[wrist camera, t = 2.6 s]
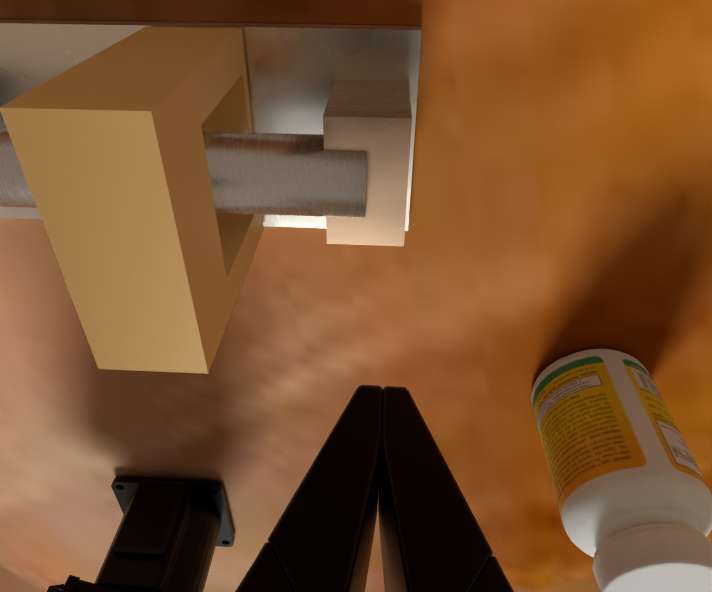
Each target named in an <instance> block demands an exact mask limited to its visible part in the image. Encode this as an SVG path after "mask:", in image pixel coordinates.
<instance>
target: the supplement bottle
mask: <svg viewBox="0 0 712 592" xmlns="http://www.w3.org/2000/svg"><path fill="white" fill-rule="evenodd" d="M531 400H532V405H533V409H534V414H535V418H536V422H537V426H538V430H539V434H540V438H541V441H542V445H543V449H544V453H545V457H546V461H547V465H548V468H549V472H550V476H551V480H552V484H553V488H554V492H555V496H556V499H557V503H558V507H559V511H560V515H561V519H562V523H563V526H564V528H565V531H566V533H567V534H568V536H569V538H570V539H571V541H572V542H573V543H574V544H575V545H576V546H577V547H578V548H579V549H581V550H582V551H583V552H585V553H586V554H588V555H590V556H592V557H594V561H593V572H594V574H595V577H596V580H597V583H598V586H599V589H600V592H712V543H711V542H710V541H709V540H708V538H707V536H708V534H709V533H710V531H711V529H712V495H711V493H710V491H709V489H708V487H707V485H706V483H705V481H704V479H703V477H702V475H701V473H700V471H699V469H698V467H697V465H696V463H695V461H694V459H693V457H692V455H691V453H690V451H689V449H688V447H687V445H686V443H685V442H684V440H683V438H682V436H681V434H680V432H679V430H678V428H677V426H676V424H675V422H674V420H673V418H672V416H671V414H670V412H669V410H668V409H667V407H666V405H665V402H664V401H663V399H662V397H661V395H660V393H659V391H658V389H657V387H656V385H655V383H654V381H653V380H652V378H651V376H650V374H649V372H648V371H647V369H646V368H645V367H644V366H643V365H642V363H640V362H639V361H638V360H637V359H636V358H634V357H632V356H630V355H628V354H626V353H623V352H620V351H617V350H611V349H589V350H583V351H579V352H576V353H573V354H571V355H568V356H565V357H563V358H560V359H558V360H557V361H555V362H553V363H552V364H550V365H549V366H548V367H546V368H545V369H544V370H543V372H542V373H541V374H540V375H539V376H538V378H537V380H536V382H535V384H534V386H533V389H532V394H531Z"/></svg>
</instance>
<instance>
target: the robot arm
mask: <svg viewBox="0 0 712 592" xmlns="http://www.w3.org/2000/svg"><path fill="white" fill-rule="evenodd" d="M111 486H112V489H113V491H114V493H115V496H116V498H117V500H118V502H119V505H120V507H121V509H122V512H123V514H124V516H123V518H122V521H121V523H120V525H119V528H118V530H117V532H116V535H115V537H114V539H113V542H112V544H111V546H110V549H109V551H108V553H107V556H106V558H105V560H104V563H103V565H102V567H101V569H100V572H99V574H98V576H97V579H96V581H95V583H90V582H86V581H83V580H79V579H80V578H79V577H76V576H72V575H69V577H68V579H67V581H66V583H65V585H64V584H61V585H55V586H49V588H48V590H47V592H203V590H204V587H205V583H206V579H207V576H208V572H209V568H210V565H211V561H212V557H213V554H214V550H215V546H223V547H230V546H232V545H233V543H234V539H235V536H234V531H233V527H232V523H231V519H230V514H229V510H228V506H227V502H226V497H225V493H224V489H223V486H222V484H221V483H219V482H217V481H205V480H186V479H166V478H146V477H127V476H117V477H115V479H114V480H113V483H112V485H111ZM378 490H379V495H378ZM377 506H378V512H379V528H380V539H381V551H382V562H383V573H384V585H385V592H514V591H513V589H512V587H511V585H510V583H509V582H508V580H507V578H506V576H505V574H504V572H503V570H502V568H501V566H500V565H499V563H498V561H497V559H496V557H494V556H492V555H493V552H492V550H491V548H490V546H489V544H488V542H487V540H486V538H485V536H484V534H483V532H482V531H481V529H480V527H479V525H478V523H477V521H476V519H475V517H474V515H473V513H472V511H471V510H470V508H469V506H468V504H467V502H466V500H465V498H464V496H463V494H462V492H461V490H460V488H459V487H458V485H457V483H456V481H455V479H454V477H453V475H452V473H451V471H450V469H449V467H448V465H447V464H446V462H445V460H444V458H443V456H442V454H441V452H440V450H439V448H438V446H437V444H436V443H435V441H434V439H433V437H432V435H431V433H430V431H429V429H428V427H427V425H426V423H425V421H424V420H423V418H422V416H421V414H420V412H419V410H418V408H417V406H416V404H415V402H414V400H413V398H412V397H411V395H410V393H409V391H408V390H407V388H405V387H394V386H386V387H384V388H383V390H382V387H380V386H374V385H360V386H359V387H358V388H357V389H356V391H355V393H354V395H353V396H352V398H351V400H350V401H349V403H348V405H347V406H346V408H345V410H344V411H343V413H342V415H341V416H340V418H339V420H338V422H337V423H336V425H335V427H334V428H333V430H332V432H331V433H330V435H329V437H328V438H327V440H326V442H325V443H324V445H323V447H322V449H321V450H320V452H319V454H318V455H317V457H316V459H315V460H314V462H313V464H312V465H311V467H310V469H309V470H308V472H307V474H306V476H305V477H304V479H303V481H302V482H301V484H300V486H299V487H298V489H297V491H296V492H295V494H294V496H293V497H292V499H291V501H290V502H289V504H288V506H287V508H286V509H285V511H284V513H283V514H282V516H281V518H280V519H279V521H278V523H277V524H276V526H275V528H274V529H273V531H272V533H271V535H270V536H269V538H268V542H267V543H265V544H264V546H263V548H262V549H261V551H260V553H259V554H258V556H257V558H256V559H255V561H254V563H253V564H252V566H251V568H250V569H249V571H248V572H247V574H246V575H245V577H244V579H243V580H242V582H241V583H240V585H239V586H238V588H237V590H236V591H235V592H365V587H366V581H367V574H368V568H369V562H370V555H371V549H372V543H373V537H374V530H375V524H376V516H377Z"/></svg>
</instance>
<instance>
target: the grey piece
mask: <svg viewBox="0 0 712 592" xmlns="http://www.w3.org/2000/svg"><path fill="white" fill-rule="evenodd" d="M144 27H186V28H242V36H243V45H244V54H245V63H246V73H247V82H248V91H249V100H250V109H251V118H252V127H253V133H240V132H202V133H203V139H204V145H205V151H206V157H207V163H208V169H209V175H210V181H211V187H212V193H213V199H214V205H215V211H216V213H229V214H262V218H263V226H269V227H301V228H326V229H327V244H352V245H383V246H404V233H405V231H408V223H409V208H410V194H411V180H412V165H413V151H414V137H415V122H416V108H417V93H418V79H419V65H420V50H421V36H422V28H421V26H390V25H326V24H262V23H198V22H134V21H70V20H6V19H0V107H1V106H3V105H5V104H7V103H8V102H10V101H12V100H14V99H16V98H18V97H19V96H21V95H23V94H25V93H27V92H28V91H30V90H32V89H34V88H36V87H37V86H39V85H41V84H43V83H45V82H46V81H48V80H50V79H52V78H54V77H55V76H57V75H59V74H61V73H63V72H65V71H66V70H68V69H70V68H72V67H74V66H75V65H77V64H79V63H81V62H83V61H84V60H86V59H88V58H90V57H92V56H93V55H95V54H97V53H99V52H101V51H102V50H104V49H106V48H108V47H110V46H112V45H113V44H115V43H117V42H119V41H121V40H122V39H124V38H126V37H128V36H130V35H131V34H133V33H135V32H137V31H139V30H140V29H142V28H144ZM0 218H13V219H41V217H40V214H39V211H38V209H37V206H36V204H35V201H34V198H33V196H32V193H31V190H30V188H29V185H28V183H27V180H26V177H25V175H24V172H23V169H22V167H21V164H20V162H19V159H18V156H17V154H16V151H15V148H14V146H13V143H12V141H11V138H10V135H9V133H8V130H7V128H6V125H5V122H4V120H3V117H2V114H1V112H0Z"/></svg>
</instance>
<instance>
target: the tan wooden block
mask: <svg viewBox="0 0 712 592" xmlns="http://www.w3.org/2000/svg"><path fill="white" fill-rule="evenodd" d="M0 112H1V114H2V117H3V120H4V122H5V125H6V128H7V130H8V133H9V135H10V138H11V141H12V143H13V146H14V148H15V151H16V154H17V156H18V159H19V162H20V164H21V167H22V169H23V172H24V175H25V177H26V180H27V183H28V185H29V188H30V190H31V193H32V196H33V198H34V201H35V204H36V206H37V209H38V211H39V214H40V217H41V219H42V222H43V225H44V227H45V230H46V232H47V235H48V238H49V240H50V243H51V246H52V248H53V251H54V253H55V256H56V259H57V261H58V264H59V267H60V269H61V272H62V274H63V277H64V280H65V282H66V285H67V288H68V290H69V293H70V295H71V298H72V301H73V303H74V306H75V308H76V311H77V314H78V316H79V319H80V322H81V324H82V327H83V329H84V332H85V335H86V337H87V340H88V343H89V345H90V348H91V350H92V353H93V356H94V358H95V361H96V364H97V366H98V369H110V370H133V371H157V372H180V373H204V374H208V373H209V370H210V368H211V365H212V363H213V360H214V357H215V355H216V352H217V350H218V347H219V344H220V342H221V339H222V337H223V334H224V331H225V329H226V326H227V323H228V321H229V318H230V316H231V313H232V310H233V308H234V305H235V303H236V300H237V297H238V295H239V292H240V289H241V287H242V284H243V282H244V279H245V276H246V274H247V271H248V269H249V266H250V263H251V261H252V258H253V256H254V253H255V250H256V248H257V245H258V242H259V240H260V237H261V235H262V232H263V229H264V227H263V218H262V214H229V213H216V211H215V205H214V199H213V193H212V187H211V181H210V175H209V169H208V163H207V157H206V151H205V145H204V139H203V133H202V132H240V133H253V127H252V118H251V109H250V100H249V91H248V82H247V73H246V63H245V54H244V45H243V36H242V28H186V27H144V28H142V29H140V30H139V31H137V32H135V33H133V34H131V35H130V36H128V37H126V38H124V39H122V40H121V41H119V42H117V43H115V44H113V45H112V46H110V47H108V48H106V49H104V50H102V51H101V52H99V53H97V54H95V55H93V56H92V57H90V58H88V59H86V60H84V61H83V62H81V63H79V64H77V65H75V66H74V67H72V68H70V69H68V70H66V71H65V72H63V73H61V74H59V75H57V76H55V77H54V78H52V79H50V80H48V81H46V82H45V83H43V84H41V85H39V86H37V87H36V88H34V89H32V90H30V91H28V92H27V93H25V94H23V95H21V96H19V97H18V98H16V99H14V100H12V101H10V102H8V103H7V104H5V105H3V106H1V107H0Z"/></svg>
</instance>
